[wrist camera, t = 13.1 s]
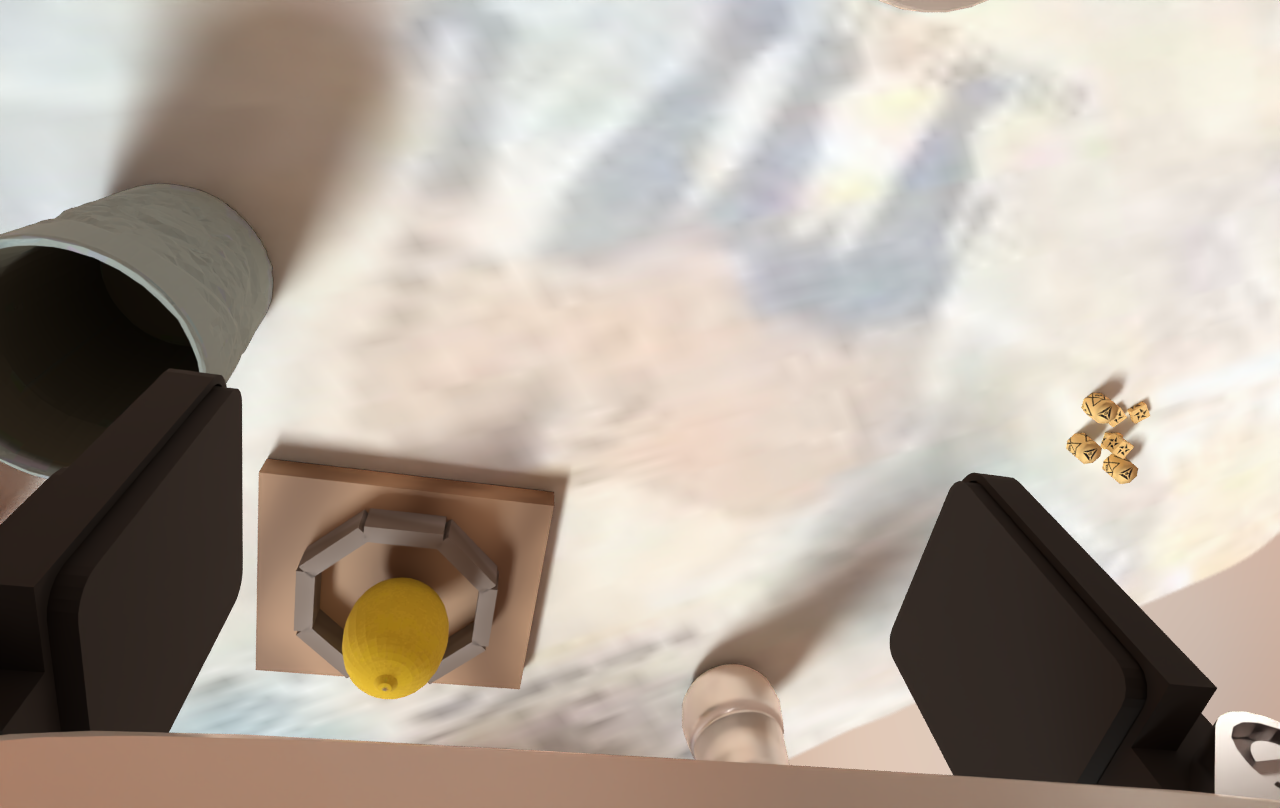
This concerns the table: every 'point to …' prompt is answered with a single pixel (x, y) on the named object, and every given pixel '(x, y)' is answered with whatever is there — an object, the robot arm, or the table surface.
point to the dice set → (1108, 437)
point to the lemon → (395, 638)
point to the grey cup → (118, 312)
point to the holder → (396, 564)
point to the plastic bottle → (734, 717)
